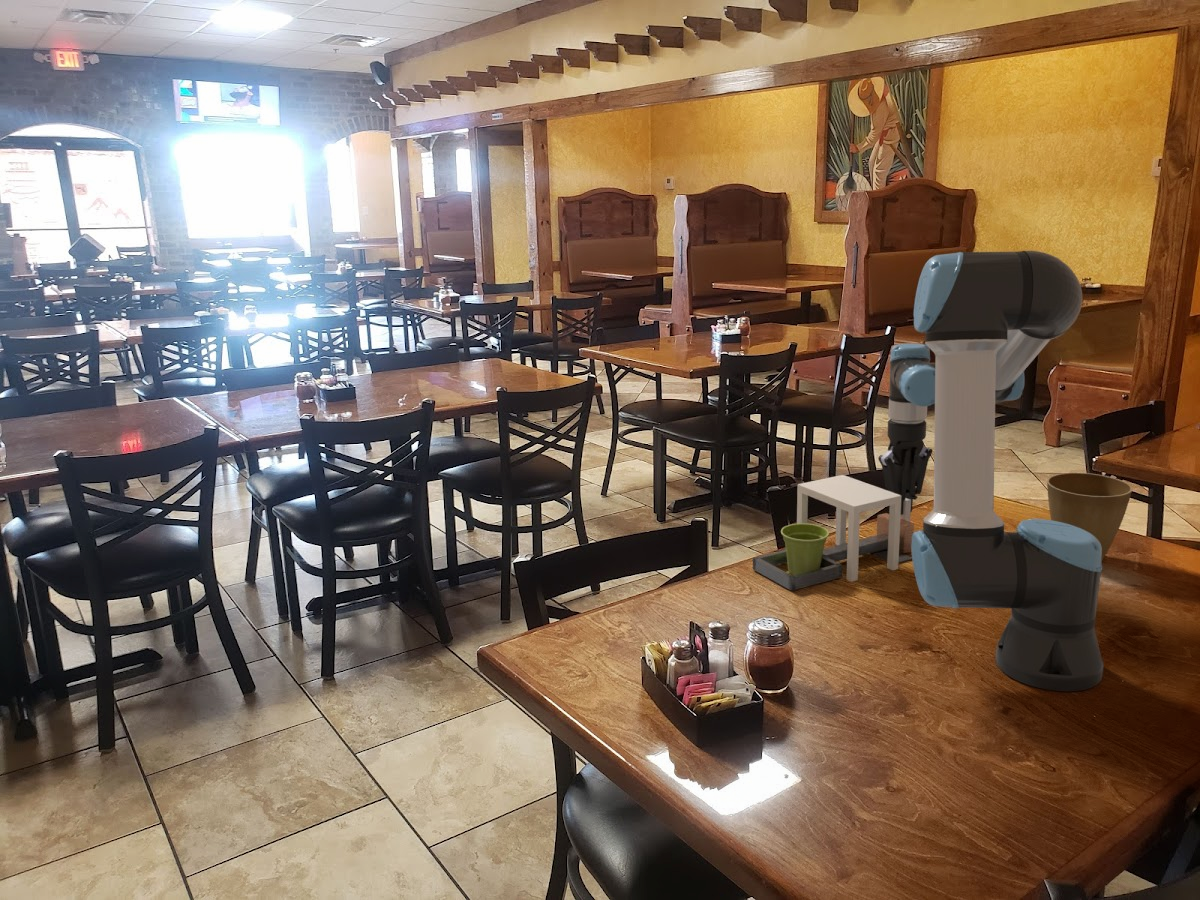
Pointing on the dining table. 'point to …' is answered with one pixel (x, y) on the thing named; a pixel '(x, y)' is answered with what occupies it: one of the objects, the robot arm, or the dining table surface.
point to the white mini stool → (854, 515)
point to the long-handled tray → (832, 557)
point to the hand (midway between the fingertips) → (902, 527)
